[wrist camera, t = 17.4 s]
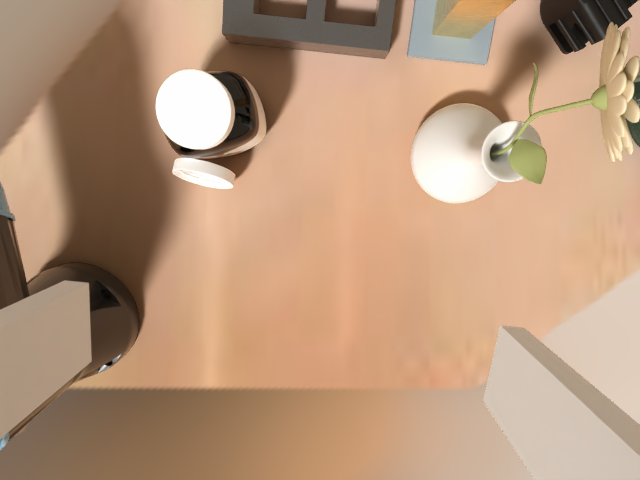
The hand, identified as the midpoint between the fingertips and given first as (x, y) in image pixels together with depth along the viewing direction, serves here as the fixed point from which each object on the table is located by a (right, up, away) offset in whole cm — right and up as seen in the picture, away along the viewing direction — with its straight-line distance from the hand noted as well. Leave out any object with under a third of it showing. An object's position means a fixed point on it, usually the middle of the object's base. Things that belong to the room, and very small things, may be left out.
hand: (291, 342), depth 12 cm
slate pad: (+16, +28, +29) cm, 44 cm away
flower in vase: (+17, +15, +32) cm, 39 cm away
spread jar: (-11, +15, +33) cm, 38 cm away
